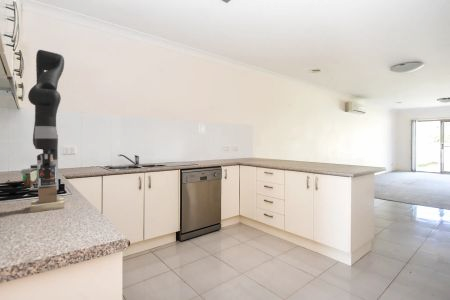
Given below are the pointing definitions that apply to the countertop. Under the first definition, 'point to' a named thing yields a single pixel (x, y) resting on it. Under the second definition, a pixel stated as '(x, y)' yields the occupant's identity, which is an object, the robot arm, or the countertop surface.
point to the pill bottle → (52, 175)
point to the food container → (29, 176)
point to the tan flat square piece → (46, 205)
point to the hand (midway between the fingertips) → (47, 177)
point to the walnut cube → (47, 194)
